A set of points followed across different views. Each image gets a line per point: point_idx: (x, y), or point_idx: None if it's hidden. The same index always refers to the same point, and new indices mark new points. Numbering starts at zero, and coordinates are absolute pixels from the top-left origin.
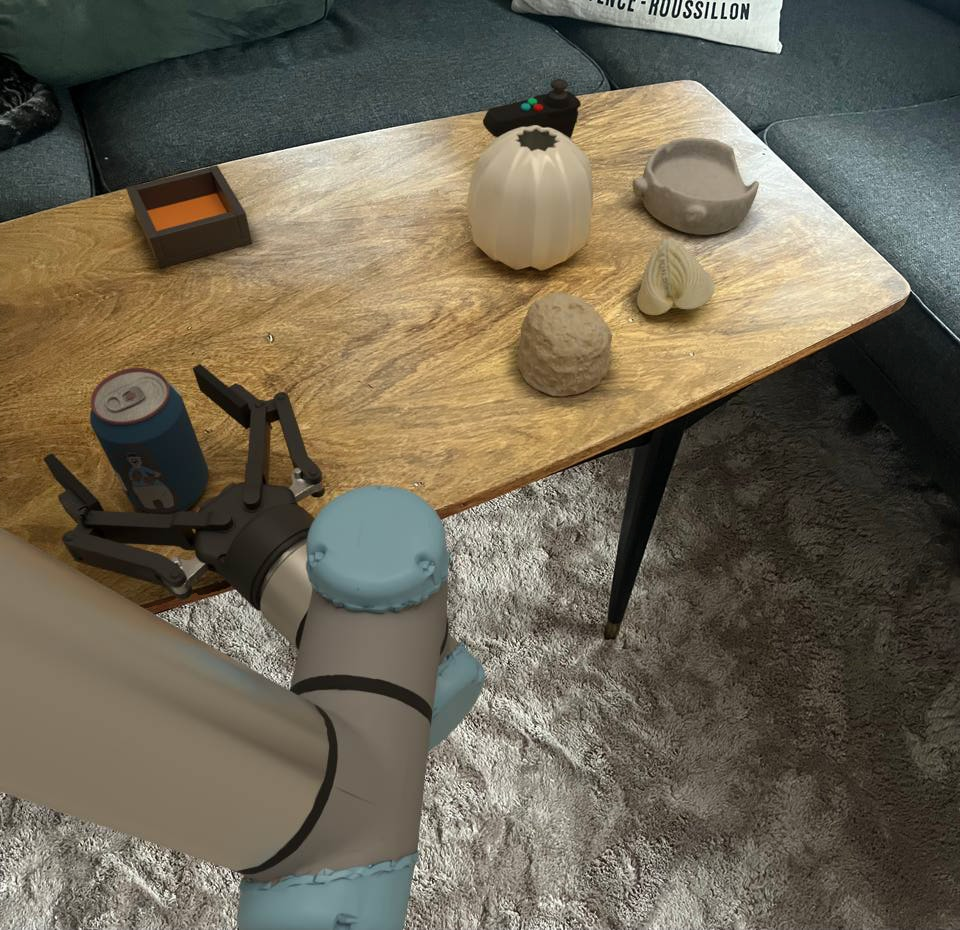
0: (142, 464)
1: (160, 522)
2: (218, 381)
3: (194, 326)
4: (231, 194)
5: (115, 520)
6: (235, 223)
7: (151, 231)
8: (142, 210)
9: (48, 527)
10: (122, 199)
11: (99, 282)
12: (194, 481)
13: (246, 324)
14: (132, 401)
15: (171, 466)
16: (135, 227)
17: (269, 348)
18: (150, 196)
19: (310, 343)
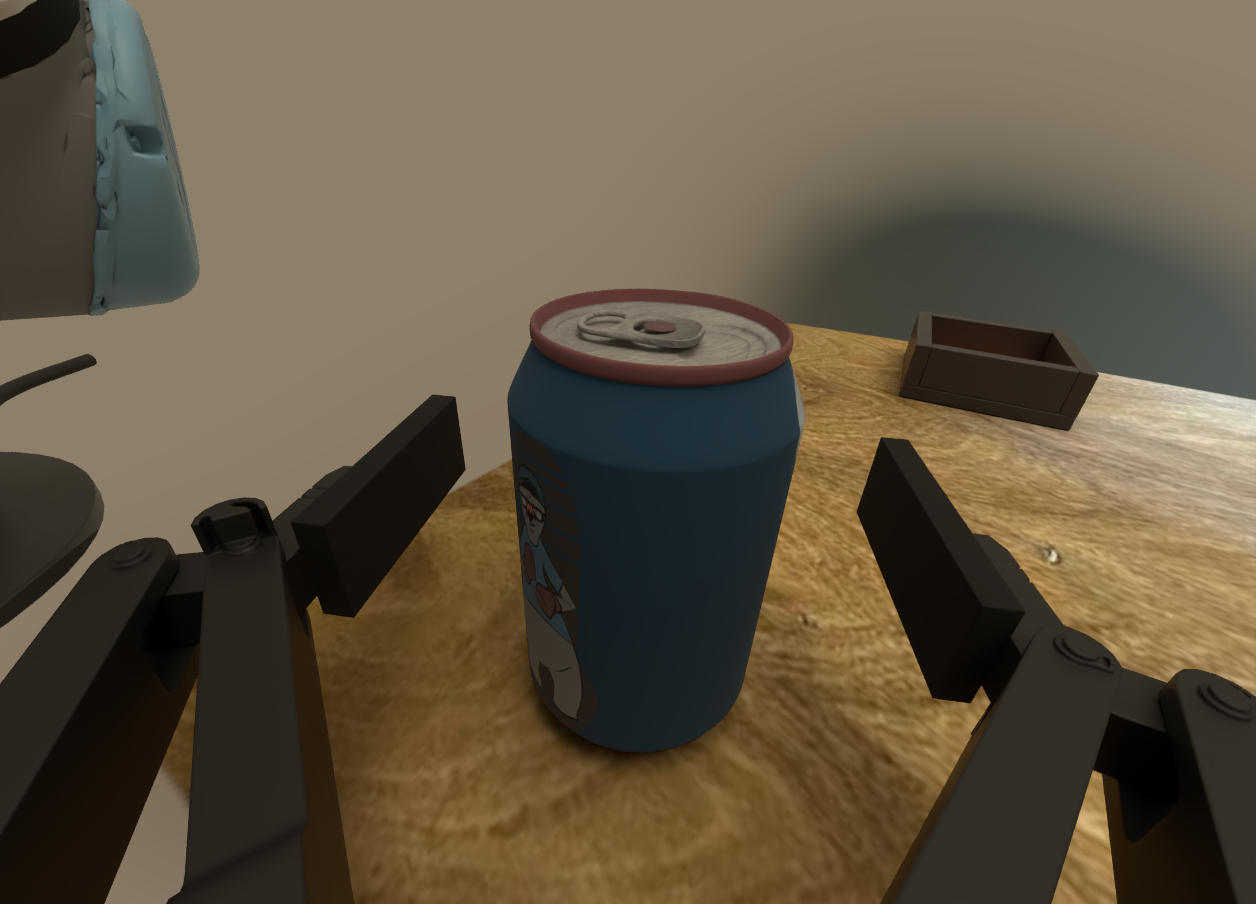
0: (542, 537)
1: (236, 796)
2: (939, 494)
3: None
4: (1078, 355)
5: (234, 619)
6: (1066, 384)
7: (924, 341)
8: (925, 326)
9: (426, 558)
10: (899, 341)
11: (813, 376)
12: (663, 706)
13: (1005, 509)
14: (646, 334)
15: (614, 611)
16: (896, 360)
17: (1041, 569)
18: (942, 331)
19: (1164, 621)
